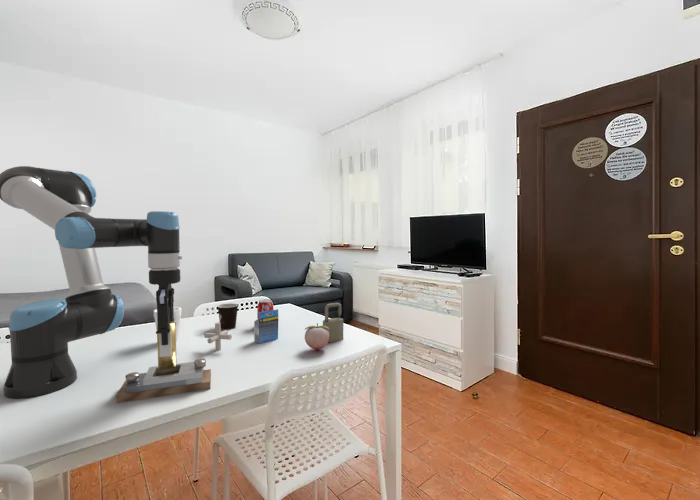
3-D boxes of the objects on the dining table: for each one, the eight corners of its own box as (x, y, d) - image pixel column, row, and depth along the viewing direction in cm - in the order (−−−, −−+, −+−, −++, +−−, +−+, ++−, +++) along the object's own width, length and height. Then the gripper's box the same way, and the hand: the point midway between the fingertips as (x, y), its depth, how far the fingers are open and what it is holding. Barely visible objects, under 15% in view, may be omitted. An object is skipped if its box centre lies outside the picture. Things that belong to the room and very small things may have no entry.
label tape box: (273, 336, 139) (273, 307, 138) (278, 339, 136) (278, 309, 135) (254, 341, 133) (253, 310, 132) (259, 344, 130) (259, 312, 129)
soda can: (276, 326, 154) (276, 300, 153) (265, 329, 148) (265, 303, 147) (265, 323, 158) (265, 298, 157) (254, 327, 152) (253, 301, 151)
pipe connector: (222, 355, 117) (222, 327, 117) (197, 353, 119) (196, 325, 119) (237, 346, 127) (237, 320, 127) (214, 344, 129) (213, 318, 129)
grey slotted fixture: (121, 394, 86) (121, 376, 86) (130, 380, 94) (129, 363, 94) (205, 382, 93) (205, 365, 93) (206, 369, 101) (206, 354, 101)
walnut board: (116, 403, 85) (116, 395, 85) (125, 387, 94) (125, 380, 94) (210, 388, 93) (210, 381, 93) (210, 375, 102) (210, 369, 102)
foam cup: (186, 338, 136) (185, 306, 135) (175, 346, 126) (174, 312, 126) (162, 338, 135) (161, 306, 134) (149, 346, 126) (148, 312, 125)
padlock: (344, 339, 136) (344, 303, 135) (326, 343, 131) (326, 305, 130) (339, 337, 139) (339, 301, 138) (321, 340, 135) (321, 303, 134)
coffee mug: (218, 325, 154) (218, 304, 154) (238, 324, 157) (238, 302, 156) (216, 333, 143) (216, 309, 142) (237, 331, 146) (237, 308, 145)
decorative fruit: (306, 355, 118) (306, 327, 118) (303, 347, 126) (303, 321, 126) (332, 353, 121) (332, 325, 120) (327, 345, 129) (327, 319, 128)
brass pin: (156, 370, 90) (155, 326, 89) (159, 364, 94) (158, 322, 94) (175, 368, 92) (174, 325, 91) (177, 362, 96) (176, 320, 95)
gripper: (176, 271, 85) (178, 362, 86) (183, 265, 101) (185, 341, 102) (141, 273, 82) (145, 366, 83) (154, 265, 98) (157, 344, 100)
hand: (167, 352), depth 93 cm, fingers closed on brass pin, 4 cm apart
